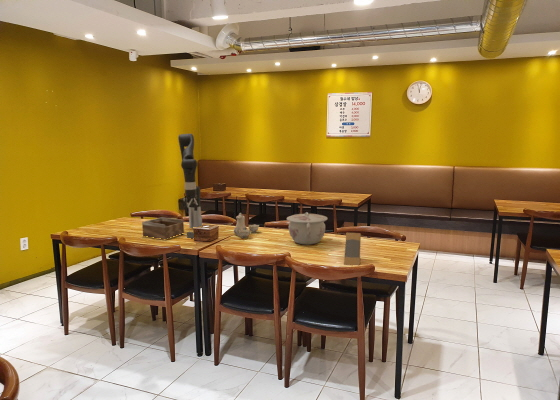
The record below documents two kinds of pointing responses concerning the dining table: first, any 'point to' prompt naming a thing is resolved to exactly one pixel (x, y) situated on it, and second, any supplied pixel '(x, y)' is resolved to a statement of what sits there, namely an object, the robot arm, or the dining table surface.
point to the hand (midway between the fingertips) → (191, 211)
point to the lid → (190, 235)
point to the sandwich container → (352, 249)
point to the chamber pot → (307, 228)
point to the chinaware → (244, 227)
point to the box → (163, 227)
